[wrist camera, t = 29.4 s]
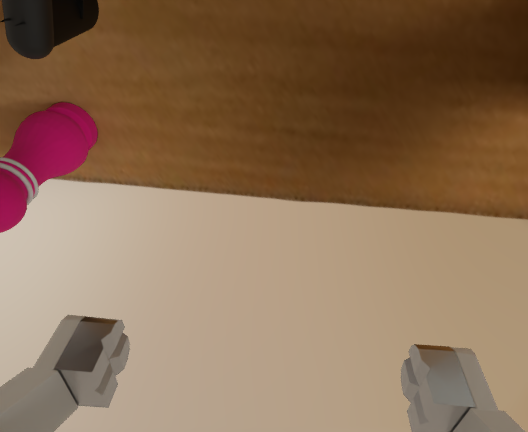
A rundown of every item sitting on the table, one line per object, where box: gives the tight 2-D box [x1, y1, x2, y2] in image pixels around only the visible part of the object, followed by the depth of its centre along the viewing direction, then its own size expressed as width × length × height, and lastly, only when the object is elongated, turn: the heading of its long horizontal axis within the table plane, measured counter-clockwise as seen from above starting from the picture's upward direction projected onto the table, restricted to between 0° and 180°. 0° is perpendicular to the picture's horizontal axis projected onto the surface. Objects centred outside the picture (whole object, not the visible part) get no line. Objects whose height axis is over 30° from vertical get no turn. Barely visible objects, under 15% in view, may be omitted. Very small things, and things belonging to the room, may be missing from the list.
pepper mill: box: [0, 102, 98, 233], centre depth 38 cm, size 7×7×20 cm
